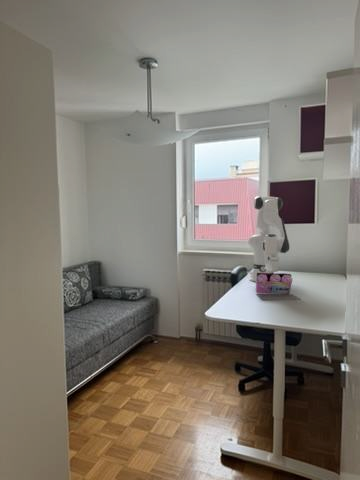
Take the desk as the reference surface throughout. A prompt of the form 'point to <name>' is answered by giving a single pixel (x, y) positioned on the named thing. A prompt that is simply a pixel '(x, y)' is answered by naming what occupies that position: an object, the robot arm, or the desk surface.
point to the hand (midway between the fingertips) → (271, 277)
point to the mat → (278, 297)
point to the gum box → (273, 283)
